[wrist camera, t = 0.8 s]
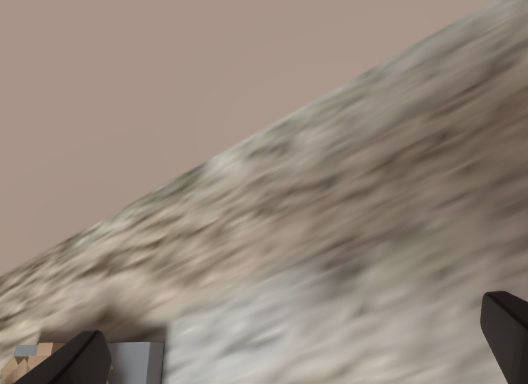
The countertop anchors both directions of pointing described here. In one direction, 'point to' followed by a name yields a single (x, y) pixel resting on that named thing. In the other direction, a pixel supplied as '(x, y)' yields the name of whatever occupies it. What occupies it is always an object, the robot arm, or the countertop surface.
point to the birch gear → (30, 362)
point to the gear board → (125, 361)
